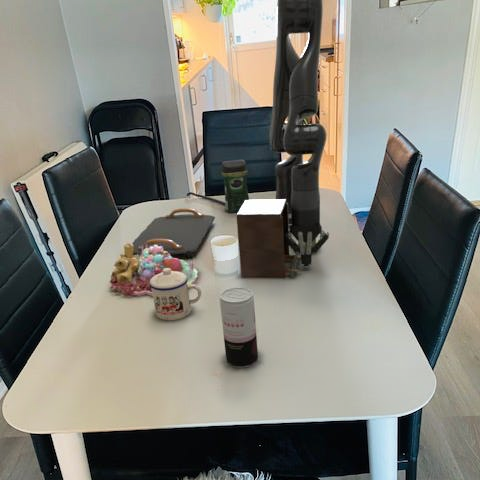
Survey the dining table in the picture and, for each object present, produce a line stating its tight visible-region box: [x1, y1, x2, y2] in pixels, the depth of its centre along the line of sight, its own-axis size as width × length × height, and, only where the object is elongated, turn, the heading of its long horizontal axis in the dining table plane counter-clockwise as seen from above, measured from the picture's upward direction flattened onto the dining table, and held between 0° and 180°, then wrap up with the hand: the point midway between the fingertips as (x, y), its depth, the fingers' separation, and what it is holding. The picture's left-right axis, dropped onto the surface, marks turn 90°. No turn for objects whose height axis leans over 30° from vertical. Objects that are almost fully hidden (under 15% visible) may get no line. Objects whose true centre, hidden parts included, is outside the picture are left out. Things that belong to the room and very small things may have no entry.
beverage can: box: [219, 287, 259, 369], centre depth 98 cm, size 7×7×15 cm
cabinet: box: [235, 198, 291, 279], centre depth 137 cm, size 12×13×18 cm
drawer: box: [284, 252, 301, 278], centre depth 141 cm, size 14×13×2 cm
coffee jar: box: [221, 159, 250, 213], centre depth 189 cm, size 10×8×19 cm
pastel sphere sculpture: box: [109, 243, 199, 297], centre depth 139 cm, size 25×24×9 cm
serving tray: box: [131, 207, 216, 259], centre depth 166 cm, size 39×23×6 cm, turn 172°
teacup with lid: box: [150, 268, 202, 321], centre depth 120 cm, size 12×9×12 cm
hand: (306, 265), depth 139 cm, fingers closed
